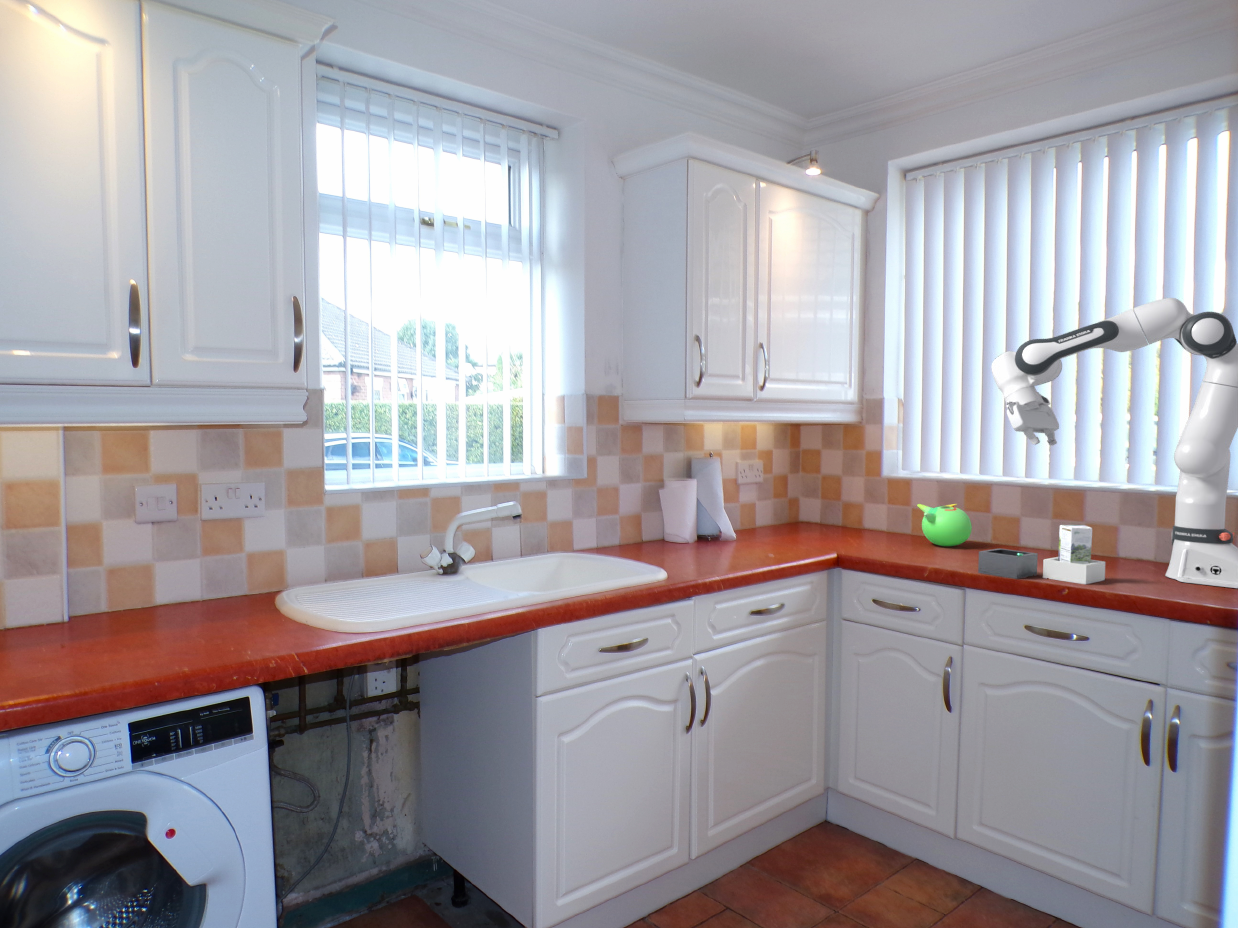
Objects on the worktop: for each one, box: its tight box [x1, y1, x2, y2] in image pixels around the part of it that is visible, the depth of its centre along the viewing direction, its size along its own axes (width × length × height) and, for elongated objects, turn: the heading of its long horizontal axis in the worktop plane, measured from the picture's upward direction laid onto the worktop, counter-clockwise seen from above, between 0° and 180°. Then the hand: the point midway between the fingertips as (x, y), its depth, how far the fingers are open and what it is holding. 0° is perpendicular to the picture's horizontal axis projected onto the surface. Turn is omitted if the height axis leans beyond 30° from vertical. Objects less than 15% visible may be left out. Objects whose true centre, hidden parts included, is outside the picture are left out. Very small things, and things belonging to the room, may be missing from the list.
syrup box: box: [1057, 524, 1093, 564], centre depth 218 cm, size 6×6×14 cm
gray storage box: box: [977, 548, 1039, 580], centre depth 225 cm, size 11×11×7 cm
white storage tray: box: [1042, 556, 1106, 585], centre depth 218 cm, size 11×11×5 cm
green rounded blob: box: [917, 503, 973, 547], centre depth 278 cm, size 18×17×15 cm
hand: (1045, 444), depth 234 cm, fingers open, 8 cm apart
